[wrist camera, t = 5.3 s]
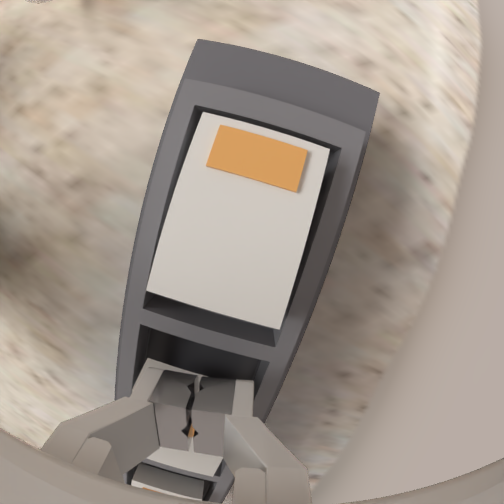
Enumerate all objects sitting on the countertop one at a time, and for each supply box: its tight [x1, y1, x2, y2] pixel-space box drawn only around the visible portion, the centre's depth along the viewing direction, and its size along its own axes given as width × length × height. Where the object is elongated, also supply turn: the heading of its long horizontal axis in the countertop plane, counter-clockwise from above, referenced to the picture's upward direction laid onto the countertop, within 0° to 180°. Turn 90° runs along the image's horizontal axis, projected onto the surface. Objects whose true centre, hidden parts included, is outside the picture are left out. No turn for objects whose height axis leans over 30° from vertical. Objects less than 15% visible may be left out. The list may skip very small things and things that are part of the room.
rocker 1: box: [132, 358, 223, 477], centre depth 10 cm, size 5×4×2 cm
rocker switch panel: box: [115, 39, 380, 503], centre depth 14 cm, size 34×7×5 cm, turn 163°
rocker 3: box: [146, 112, 330, 330], centre depth 8 cm, size 5×4×2 cm
